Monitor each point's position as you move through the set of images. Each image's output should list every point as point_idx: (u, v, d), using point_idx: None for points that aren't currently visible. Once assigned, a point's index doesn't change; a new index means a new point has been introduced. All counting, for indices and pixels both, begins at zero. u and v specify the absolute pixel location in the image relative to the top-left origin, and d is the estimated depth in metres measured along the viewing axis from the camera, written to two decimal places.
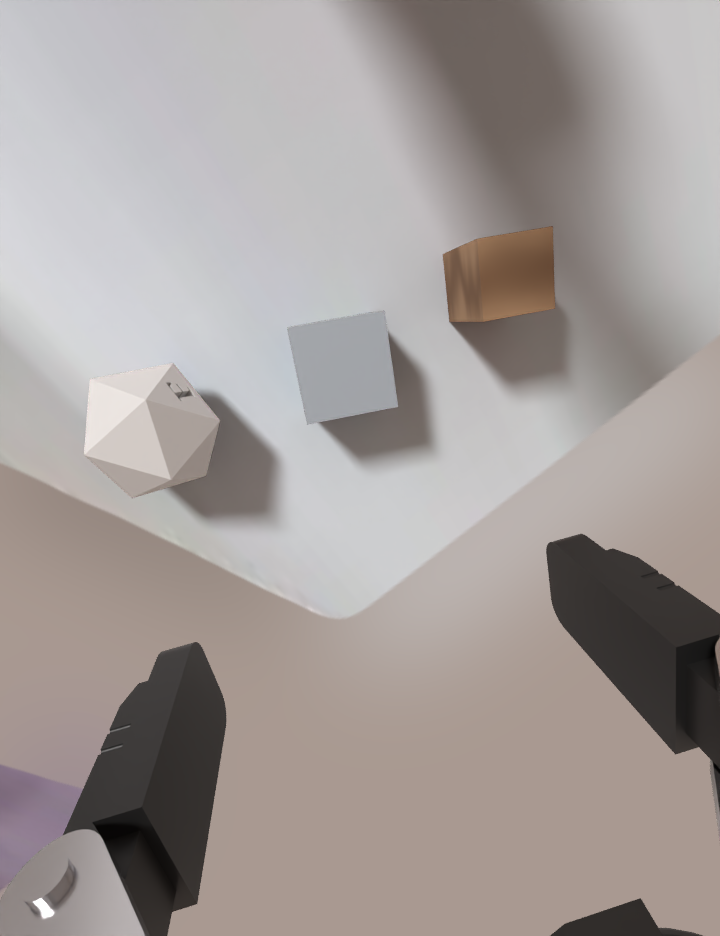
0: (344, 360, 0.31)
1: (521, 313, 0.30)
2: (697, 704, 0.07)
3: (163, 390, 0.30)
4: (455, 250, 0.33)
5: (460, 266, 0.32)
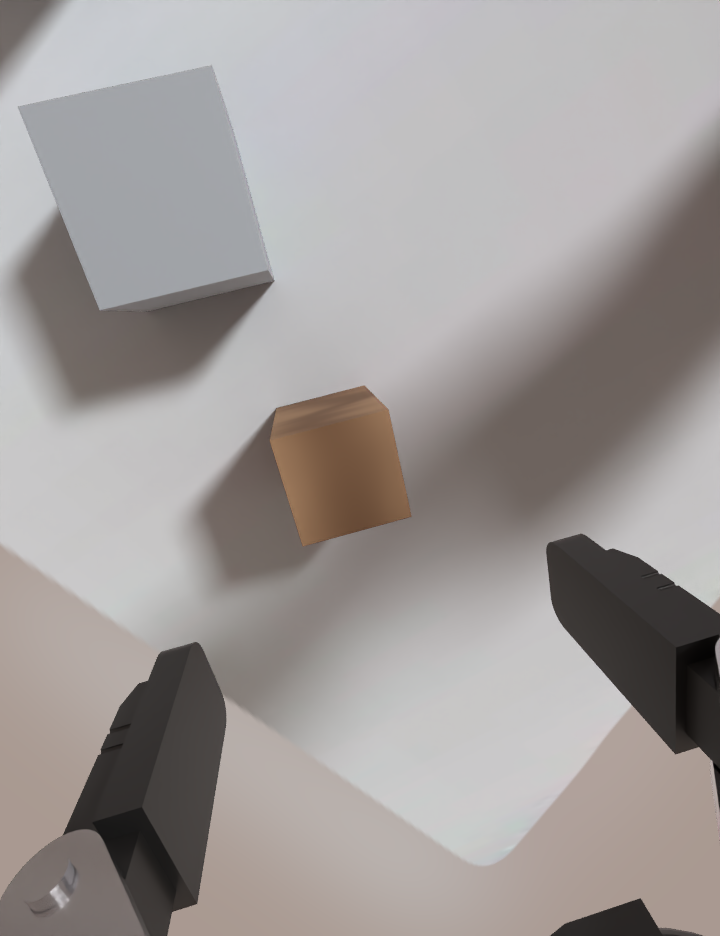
0: (168, 194, 0.16)
1: (289, 498, 0.19)
2: (697, 704, 0.07)
3: None
4: (370, 394, 0.23)
5: (349, 402, 0.22)
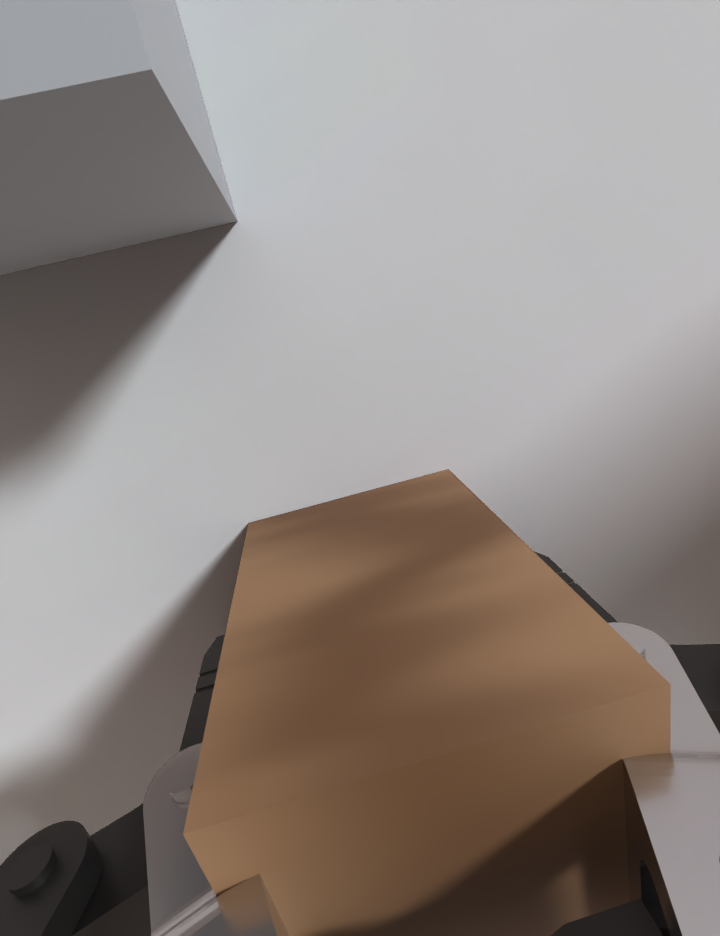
0: None
1: None
2: None
3: None
4: (492, 519, 0.09)
5: (444, 554, 0.08)
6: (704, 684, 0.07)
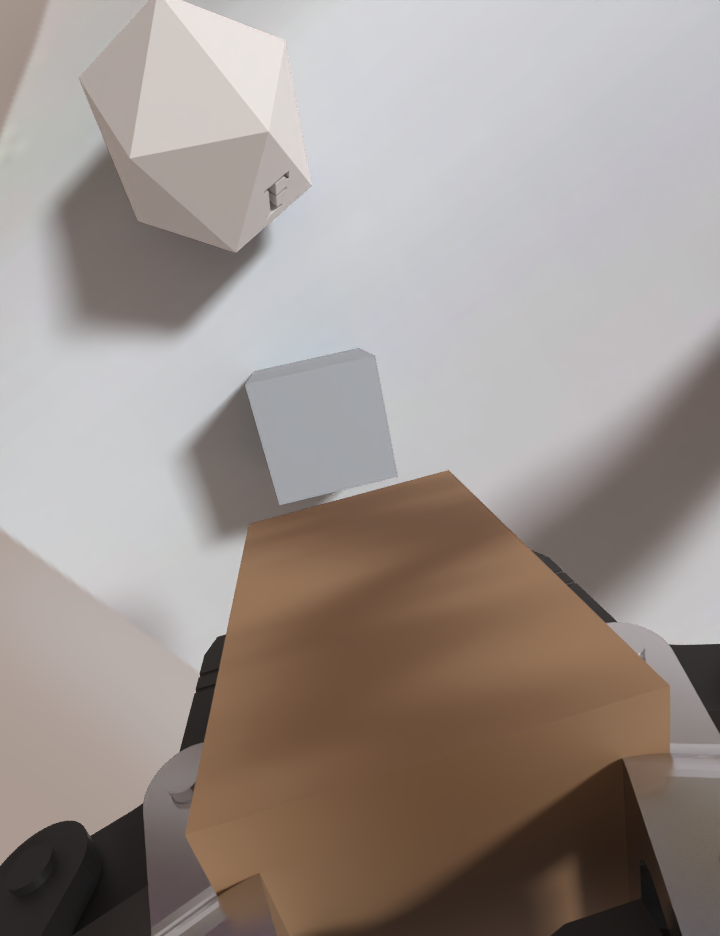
0: (336, 432, 0.24)
1: None
2: None
3: (279, 165, 0.19)
4: (492, 520, 0.09)
5: (445, 556, 0.08)
6: (704, 684, 0.07)
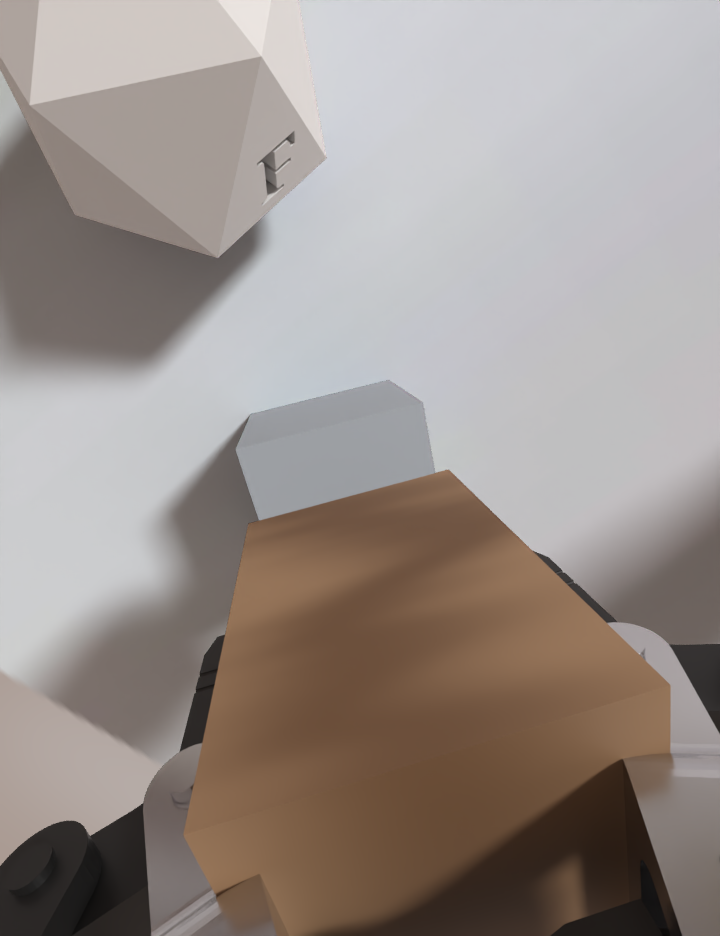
0: None
1: None
2: None
3: (279, 120, 0.12)
4: (492, 520, 0.09)
5: (445, 555, 0.08)
6: (704, 684, 0.07)
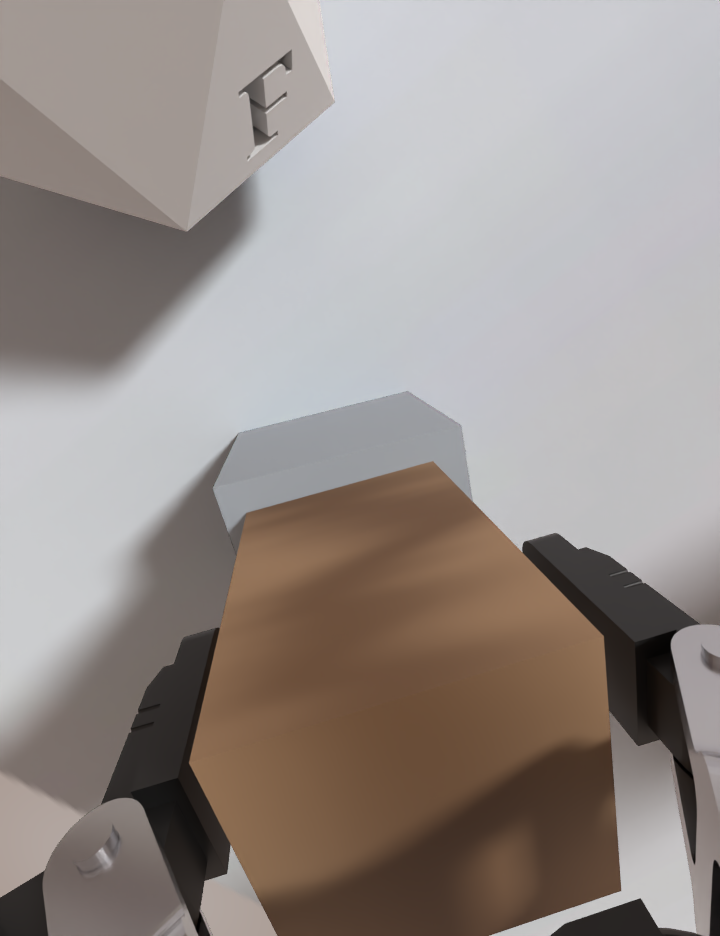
0: None
1: (266, 900, 0.06)
2: (656, 697, 0.07)
3: (270, 26, 0.09)
4: (468, 505, 0.09)
5: (423, 536, 0.09)
6: None
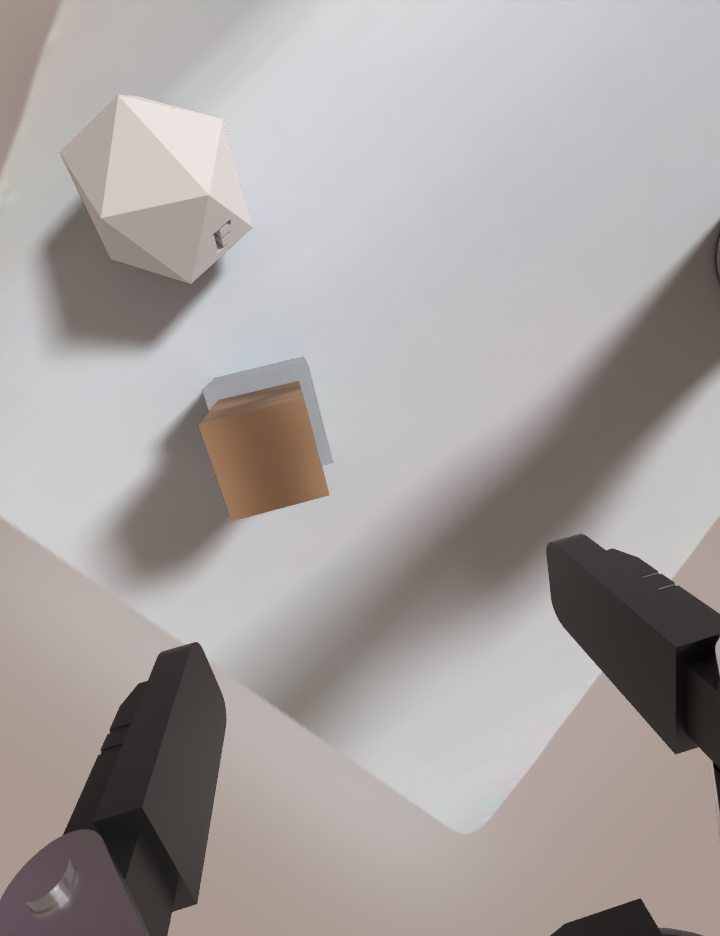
0: None
1: (218, 477, 0.22)
2: (697, 704, 0.07)
3: (221, 216, 0.25)
4: (298, 387, 0.25)
5: (278, 394, 0.25)
6: None
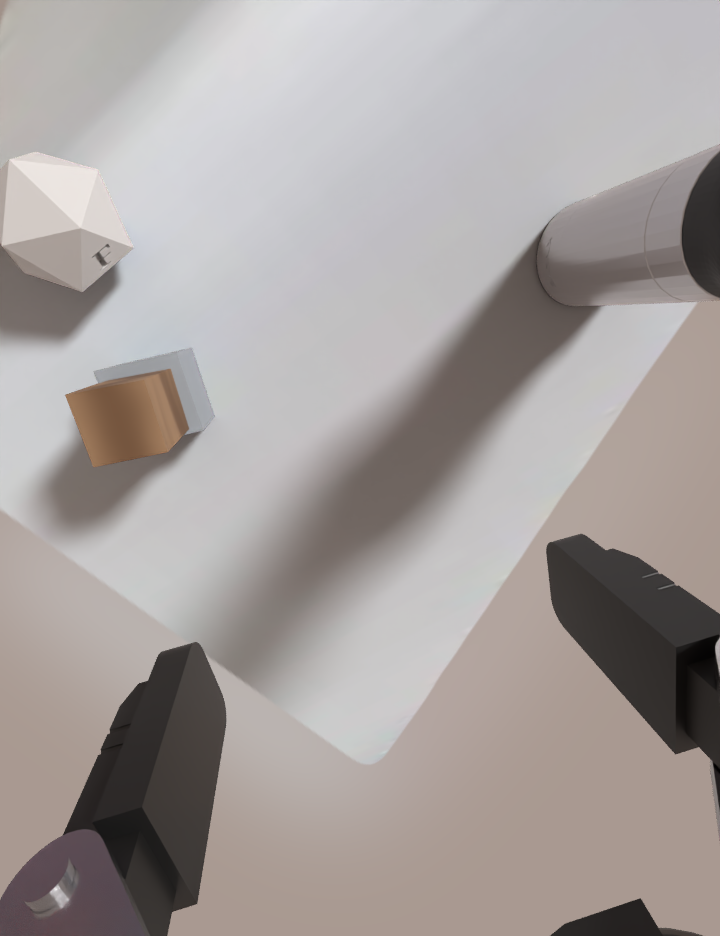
0: None
1: (81, 433, 0.30)
2: (697, 704, 0.07)
3: (98, 242, 0.33)
4: (159, 373, 0.34)
5: (140, 377, 0.33)
6: None
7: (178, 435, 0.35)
